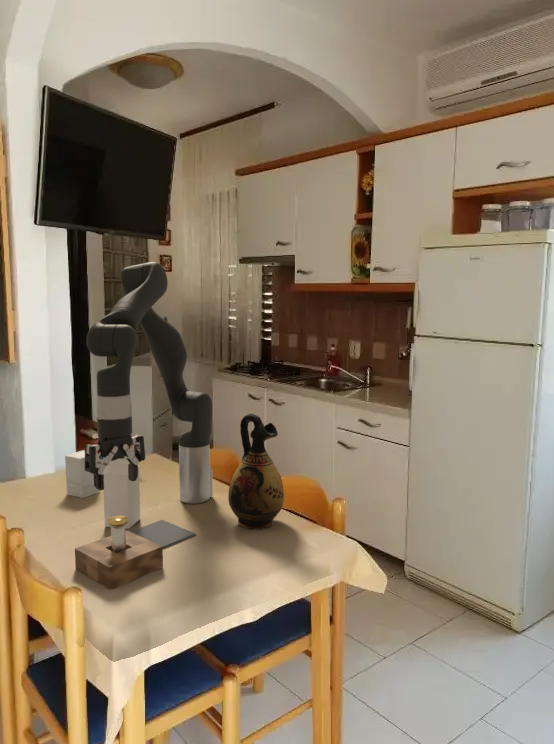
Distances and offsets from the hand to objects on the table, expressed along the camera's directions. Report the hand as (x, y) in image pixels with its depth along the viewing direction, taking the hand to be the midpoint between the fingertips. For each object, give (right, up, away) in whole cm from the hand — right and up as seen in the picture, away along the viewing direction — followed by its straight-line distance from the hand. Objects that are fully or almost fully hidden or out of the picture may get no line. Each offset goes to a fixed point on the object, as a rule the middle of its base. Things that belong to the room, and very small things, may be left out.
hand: (116, 484), depth 135 cm
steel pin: (0, -20, +3) cm, 20 cm away
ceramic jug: (+30, -16, +31) cm, 46 cm away
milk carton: (-6, -16, +29) cm, 34 cm away
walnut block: (0, -20, +3) cm, 20 cm away
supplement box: (-25, -13, +53) cm, 60 cm away
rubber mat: (+5, -17, +21) cm, 27 cm away
